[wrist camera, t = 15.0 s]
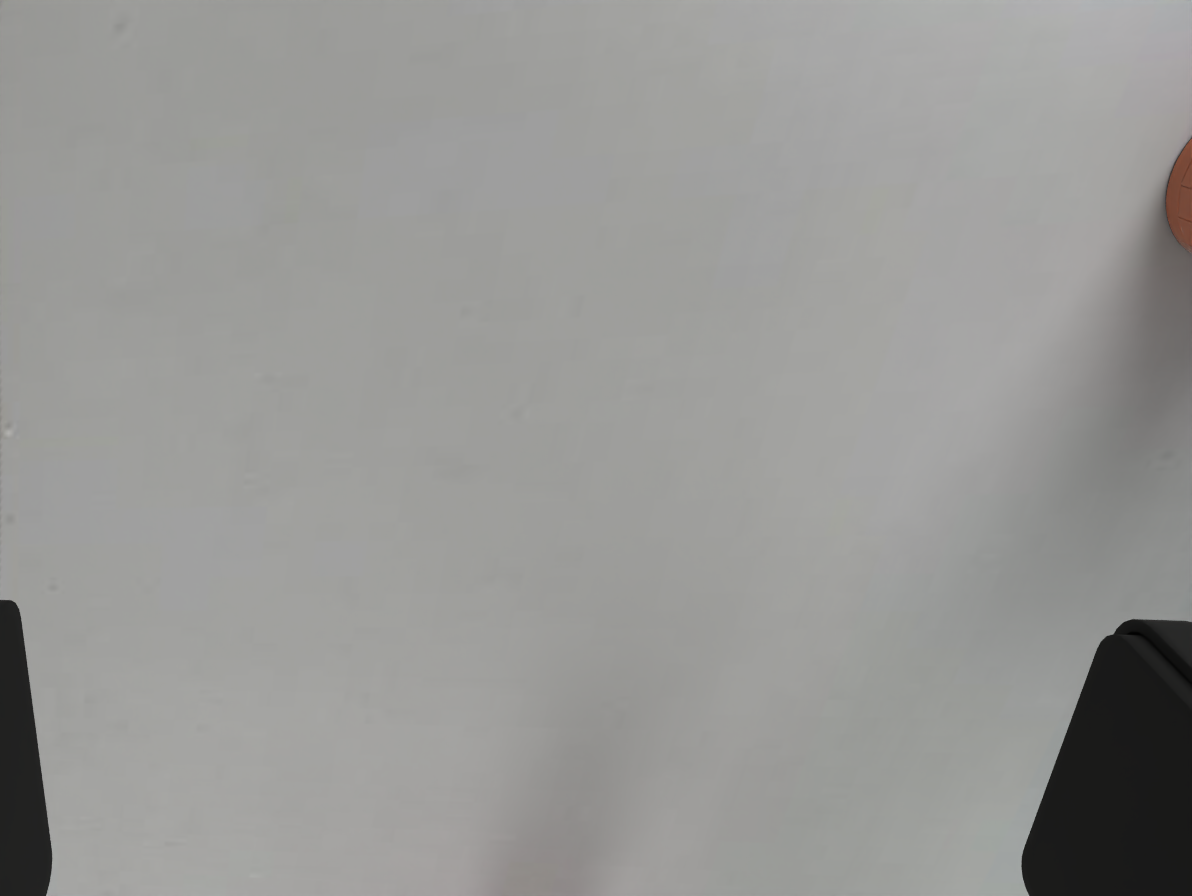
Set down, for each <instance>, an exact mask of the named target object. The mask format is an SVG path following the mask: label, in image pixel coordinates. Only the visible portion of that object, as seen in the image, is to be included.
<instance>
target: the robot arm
mask: <svg viewBox="0 0 1192 896" xmlns="http://www.w3.org/2000/svg"><path fill="white" fill-rule="evenodd" d="M51 869H52V849H51V841H50V834H49V826H48V818H47V811H46V803H45V796H44V788H43V781H42V773H41V766H40V758H39V750H38V743H37V735H36V728H35V720H34V713H33V705H32V698H31V690H30V682H29V675H28V667H27V660H26V652H25V645H24V637H23V629H22V622H21V616H20V612H19V608H18V607H17V605H16V603H15V602H13V601H11V600H0V896H46V894H47V890H48V886H49V882H50V876H51ZM1022 875H1023V880H1024V883H1025V887H1026V889H1027V892H1028V894H1029V896H1192V622H1188V621H1168V620H1138V619H1132V620H1129V621H1126V622H1124V623H1122V624H1121V625H1120V626H1119V627H1118V628H1117V629H1116V631H1115V633H1114V634H1113V635H1110V636H1107V637H1105V638H1104V639H1103V640H1102V641H1101V643H1100V645H1099V647H1098V648H1097V651H1096V653H1095V656H1094V659H1093V662H1092V664H1091V667H1090V670H1089V673H1088V675H1087V678H1086V681H1085V684H1084V686H1083V689H1082V692H1081V694H1080V697H1079V700H1078V703H1077V705H1076V708H1075V711H1074V714H1073V716H1072V719H1071V722H1070V724H1069V727H1068V730H1067V733H1066V735H1065V738H1064V741H1063V744H1062V746H1061V749H1060V752H1059V754H1058V757H1057V760H1056V763H1055V765H1054V768H1053V771H1052V774H1051V776H1050V779H1049V782H1048V784H1047V787H1046V790H1045V793H1044V795H1043V798H1042V801H1041V804H1040V806H1039V809H1038V812H1037V814H1036V817H1035V820H1034V823H1033V825H1032V828H1031V831H1030V834H1029V836H1028V839H1027V842H1026V845H1025V847H1024V850H1023V855H1022Z"/></svg>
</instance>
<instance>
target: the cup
mask: <svg viewBox="0 0 1192 896" xmlns="http://www.w3.org/2000/svg"><path fill="white" fill-rule="evenodd" d="M1166 211H1167V218H1168V222H1169V225H1170V228H1171V230H1172V232H1173V234H1174V236H1175V238H1176V239H1177V241H1178V242H1179V243H1180V244H1181V245H1182V246H1183V247H1184V248H1185V249H1186V250H1187V251H1189V252H1190V253H1192V138H1191V140H1190V141H1189V142H1188V143H1187V145H1186V146H1185V148H1184V149H1183V151H1182V152H1181V154H1180V156H1179V158H1178V159H1177V161H1176V163H1175V165H1174V168H1173V171H1172V173H1171V176H1170V179H1169V183H1168V188H1167V194H1166Z"/></svg>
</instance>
